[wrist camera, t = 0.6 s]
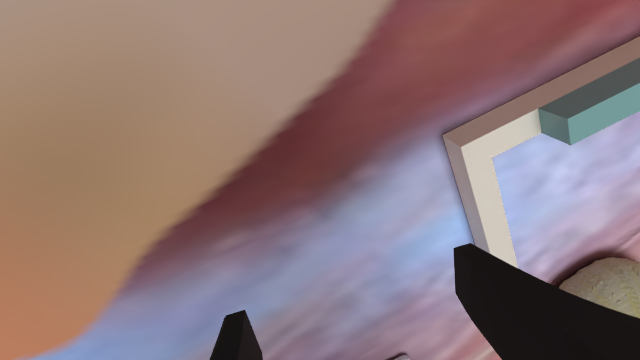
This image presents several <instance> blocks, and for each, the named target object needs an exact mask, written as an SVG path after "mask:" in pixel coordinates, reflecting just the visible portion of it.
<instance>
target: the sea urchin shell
mask: <svg viewBox="0 0 640 360" xmlns="http://www.w3.org/2000/svg"><path fill="white" fill-rule="evenodd" d="M559 288H560V289H562V290H564V291H566V292H569V293H571V294H573V295H576V296H578V297H581V298H583V299H586V300H589V301H591V302H594V303H596V304H599V305H602V306H604V307H607V308H610V309H613V310H616V311H619V312H622V313H625V314H628V315H631V316H634V317H637V318H640V263H639V262H635V260H629V259H626V258H624V259H622V258H613V257H611V258H609V257H607V258H604V259H601V260H596V261H594V262H593V263H592V264H590V265H589V266H587V267H584V268H583V269H579V270H578V272H577V273H576V274H575V275H573V276H572V277H570V278H569V279H567V280H564V281H563V283H562V284H561V285H559Z"/></svg>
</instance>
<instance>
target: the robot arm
mask: <svg viewBox="0 0 640 360" xmlns="http://www.w3.org/2000/svg"><path fill="white" fill-rule="evenodd" d="M454 268H455V290H456V295H457V296H458V298H459V300H460V302H461V303H462V305H463V307H464V308H465V310H466V312H467V313H468V315H469V317H470V318H471V320H472V321H473V322H474V324H475V325H476V326H477V328H478V329H479V330H480V332H481V333H482V334H483V336H484V337H485V338H486V340H487V341H488V342H489V343H490V345H491V346H492V347H493V349H494V350H495V351H496V352H497V354H498V355H499V356H500V358H501V359H502V360H640V318H637V317H634V316H631V315H628V314H625V313H622V312H619V311H616V310H613V309H610V308H607V307H604V306H602V305H599V304H596V303H594V302H591V301H589V300H586V299H583V298H581V297H578V296H576V295H573V294H571V293H569V292H566V291H564V290H562V289H560V288H558V287H555V286H553V285H551V284H549V283H546V282H544V281H542V280H540V279H538V278H536V277H534V276H532V275H530V274H528V273H526V272H524V271H522V270H520V269H518V268H516V267H514V266H512V265H510V264H509V263H507V262H505V261H503V260H501V259H499V258H497V257H495V256H494V255H492V254H490V253H488V252H486V251H484V250H483V249H481V248H479V247H477V246H475V245H473V244H471V243H469V244H466V245H462V246H459V247H456V248H454ZM210 360H263V358H262V352H261V349H260V347H259V344H258V342H257V339H256V337H255V334H254V331H253V329H252V326H251V324H250V321H249V319H248V316H247V314H246V311H245V310H243V311H240V312H236V313H233V314H229V315H226V317H225V318H224V321H223V324H222V327H221V330H220V333H219V336H218V339H217V341H216V344H215V347H214V349H213V352H212V355H211V357H210ZM394 360H410V358H409V357H408V356H407V355H402V356H400V357H398V358H396V359H394Z"/></svg>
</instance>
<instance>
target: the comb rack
mask: <svg viewBox="0 0 640 360" xmlns="http://www.w3.org/2000/svg"><path fill="white" fill-rule="evenodd" d="M638 111H640V36H639V37H637V38H635V39H633V40H631V41H629V42H627V43H625V44H623V45H621V46H619V47H617V48H615V49H613V50H611V51H609V52H607V53H605V54H603V55H601V56H599V57H597V58H595V59H593V60H591V61H589V62H587V63H585V64H583V65H581V66H579V67H577V68H575V69H573V70H571V71H569V72H567V73H565V74H563V75H561V76H559V77H557V78H555V79H553V80H551V81H549V82H547V83H545V84H543V85H541V86H539V87H537V88H535V89H533V90H531V91H529V92H527V93H525V94H523V95H521V96H519V97H517V98H515V99H513V100H511V101H509V102H507V103H505V104H503V105H501V106H499V107H497V108H495V109H493V110H491V111H490V112H488V113H486V114H484V115H482V116H480V117H478V118H476V119H474V120H472V121H470V122H468V123H466V124H464V125H462V126H460V127H458V128H456V129H454V130H452V131H450V132H448V133H446V134H444V135H442V136H443V139H444V143H445V146H446V149H447V153H448V156H449V159H450V163H451V166H452V169H453V173H454V176H455V179H456V183H457V186H458V189H459V192H460V196H461V199H462V202H463V206H464V209H465V212H466V216H467V219H468V222H469V226H470V229H471V232H472V236H473V239H474V242H475V246H477V247H479V248H481V249H483V250H484V251H486V252H488V253H490V254H492V255H494V256H495V257H497V258H499V259H501V260H503V261H505V262H507V263H509V264H510V265H512V266H514V267H516V268H518V266H517V262H516V257H515V253H514V249H513V245H512V240H511V236H510V232H509V228H508V224H507V219H506V215H505V211H504V207H503V202H502V198H501V194H500V190H499V186H498V181H497V177H496V173H495V169H494V165H493V160H492V157H494V156H496V155H498V154H500V153H502V152H504V151H506V150H508V149H510V148H512V147H514V146H516V145H518V144H520V143H522V142H524V141H526V140H528V139H530V138H532V137H534V136H536V135H538V134H540V133H543V134H546V135H548V136H550V137H553V138H555V139H557V140H560V141H562V142H564V143H567V144H569V145H572V144H574V143H576V142H578V141H580V140H582V139H584V138H586V137H588V136H590V135H592V134H594V133H596V132H598V131H600V130H602V129H604V128H606V127H608V126H610V125H612V124H614V123H616V122H618V121H620V120H622V119H624V118H626V117H628V116H630V115H632V114H634V113H636V112H638Z"/></svg>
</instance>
